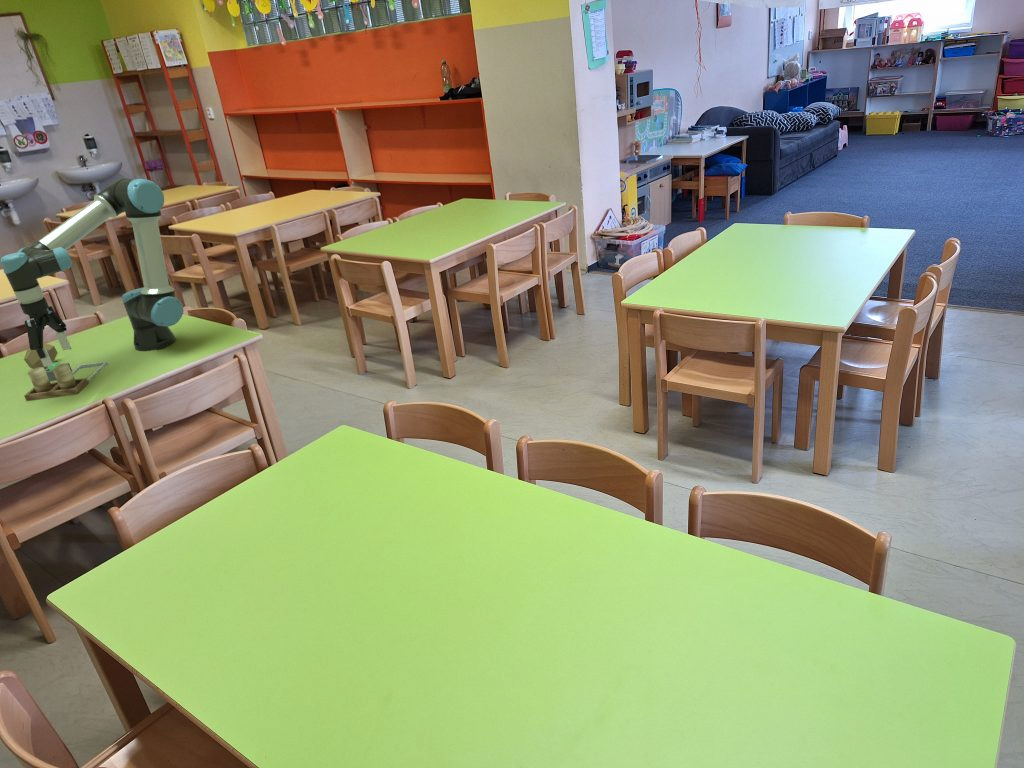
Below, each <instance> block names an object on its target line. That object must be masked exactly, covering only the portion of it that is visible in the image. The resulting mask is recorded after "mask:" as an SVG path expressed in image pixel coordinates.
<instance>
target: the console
mask: <svg viewBox="0 0 1024 768" xmlns="http://www.w3.org/2000/svg"><path fill="white" fill-rule="evenodd" d="M59 364H60V365H62V364H68V365H69V367H70V369H71V372H72V371H73V369H72V367H71V365H70V363H69V362H66V363H65V362H64V363H59ZM45 372H46V374H47V376H48V378H49V381H50V382H56V381H57V379H56V376H55V374H54V372H53V370H51V371H49V368H48V367H47V368H46V369H45Z"/></svg>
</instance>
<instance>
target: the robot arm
mask: <svg viewBox="0 0 1024 768" xmlns="http://www.w3.org/2000/svg"><path fill="white" fill-rule="evenodd" d="M164 204H165V196H164V192H163V190H162V188H161V187H160V186H159V185H158V184H157V183H156V182H154V181H152V180H150V179H145V178H120V179H117V180H115V181H113V182H112V183H110V184H109V185H106V187H105V188H104V189H102V190H101V191H99V192H98V193H96V194H95V195H94V196H93V200H92V201H91V202H90V203H89V204H86V206H84V207H82V208H81V209H80V210H79V211H77V212H76V213H74V214H73V215H72V216H71V217H69V218H68V219H66V220H65V221H64V222H62V223H61V224H60V225H58V226H56V227H55V228H54V229H52V230H51V231H50V232H48V233H47V234H45V235H44V236H43V237H41V238H40V239H39V240H38V241H36V242H35V243H33V244H32V245H30V246H25V247H22V248H20V249H19V250H18V251H17V252H14V253H8V254H6V255H4V256H2V257H1V258H0V265H1V267H2V269H3V273H4V274H5V276H6V279H7V281H8V283H9V284H10V287H11V288H12V291H13V292H14V295H15V297H16V300H17V301H18V302H19V306H20V309H21V310H22V313H23V315H27V316H28V317H29V319H27V320H24V324H25V325H24V326H25V327H26V331H27V338H28V344H29V348H30V350H36V351H37V353H38V355H39V357H40V359H41V361H42V363H43V366H44V367H46V366H52V365H53V363H52V361H51V359H50V357H49V354H48V352H47V350H46V348H45V347H44V348H43V344H44V330H45V328H46V326H48V327H49V328H51V329H52V330H53V331H55V332H56V333H55V336H56V338H57V340H58V342H59V344H60V346H61V347H60V348H61V349H62V351H69V350H71V349H72V346H71V344H70V342H69V340H68V337H67V334H66V333H65V332H67V330H68V329H67V324H66V323H65V322H64V321H63V320H62V318H61V317H60V316H59V315H58V314H57V313H56V312H55V310H54V308H53V306H52V305H49V303H48V302H47V299H46V297H44V295H45V294H44V292H43V290H42V288H41V285H40V283H39V281H38V279H42V278H45V277H47V276H50V275H53V274H56V273H57V274H58V273H60V272H64V271H66V270H68V269H70V268H72V265H73V261H72V257H71V255H70V254H69V252H68V251H67V250H69V249H70V248H71V247H72V246H74V245H75V244H76V243H78V242H79V241H81V240H82V239H84V238H85V237H86V236H87V235H89V234H90V233H91V232H92V231H94V230H95V229H97V228H98V227H100V226H101V225H102V224H104V223H105V222H106V221H107V220H109V219H110V218H113V219H114V218H117V217H118V216H119V215H121V214H123V213H125V219H127V220H128V221H129V222H130V223H131V224H132V225H131V226H132V230H133V234H134V241H135V246H136V247H135V248H136V250H137V257H138V263H139V266H140V267H139V268H140V271H141V278H142V283H143V287H139V288H136V289H132V290H129V291H127V292H125V293H124V294H122V296H121V299H122V303H123V304H122V305H123V306H124V308H125V311H126V313H127V316H128V319H129V322H130V324H131V327H132V330H133V347H134V349H135V351H138V352H150V351H155V350H156V351H157V350H161V349H163V348H166V347H168V346H171V345H172V344H173V343H174V342H175V341H176V337H175V334H174V333H173V331H172V330H171V328H170V327H172V326H174V325H176V324H178V323H179V321H180V320H181V319H182V317H183V315H184V305H183V303H182V302H181V301H180V300H179V299H178V298H177V297H176V293H175V292H176V291H175V288H173V287H172V286H171V285H170V283H169V278H168V271H167V266H166V261H165V256H164V250H163V243H162V239H161V232H160V226H159V221H160V219H161V218H162V211H161V210H162V208H163V206H164Z"/></svg>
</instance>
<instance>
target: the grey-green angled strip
mask: <svg viewBox="0 0 1024 768" xmlns="http://www.w3.org/2000/svg"><path fill="white" fill-rule="evenodd" d="M108 365H109V362H108V361H101V362H93V363H85V364H79V365H78V366H77V367H76V368H74V369H73V370H72V374H73V376H74V375H75V374H76V373H77V372H78V371H79V370H82V369H89V368H90V369H91V368H96V367H97V369H96V370H95V371H94V372H92V373H91V375H90V376H89V377H88V378H87V379H88V382H89V383H90V381H91V380H93V378H94V377H96V375H98V373H99V372H101V371H102V370H103V368H105V366H108Z"/></svg>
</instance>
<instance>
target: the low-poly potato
mask: <svg viewBox="0 0 1024 768" xmlns="http://www.w3.org/2000/svg"><path fill="white" fill-rule="evenodd" d="M44 347H45V348H46V350H47V352H48V354H49V357H50V359H51V361H52V363H54V362H55V360H56V358H57V356H58V354H59V352H58V351H57V348H56V347H55V345H53V344H49V343H46V342H45V343H43V348H44ZM23 361H24V362H25V363H26V364H27V366H28V367H29V368H30V369H31V370H32V369H34V368H39V367H43V368H44V369H46V368H47V367H48V366H46V367H44V366H43V363H42V361H41V359H40V357H39V355H38V353H37V351H36V350H30V347H28V348H27V349H26V353H25V355H24V357H23Z"/></svg>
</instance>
